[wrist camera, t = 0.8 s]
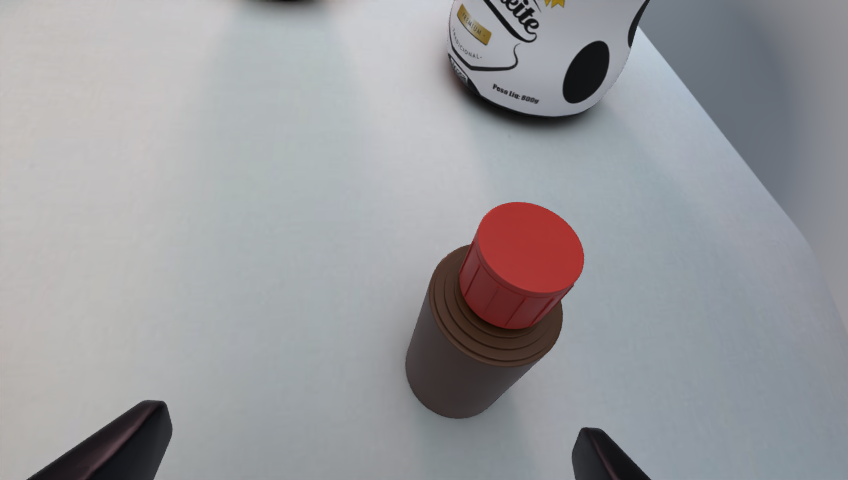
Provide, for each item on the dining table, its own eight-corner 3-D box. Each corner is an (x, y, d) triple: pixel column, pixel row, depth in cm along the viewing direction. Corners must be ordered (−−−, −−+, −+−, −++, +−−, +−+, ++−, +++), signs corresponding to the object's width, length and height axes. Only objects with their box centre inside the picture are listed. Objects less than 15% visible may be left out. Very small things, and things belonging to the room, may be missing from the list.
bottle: (512, 413, 24) (633, 323, 14) (410, 423, 23) (460, 333, 13) (491, 318, 28) (576, 189, 17) (401, 322, 27) (435, 187, 16)
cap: (562, 327, 17) (600, 291, 14) (467, 332, 16) (489, 295, 13) (536, 246, 19) (565, 201, 16) (452, 246, 18) (468, 200, 16)
